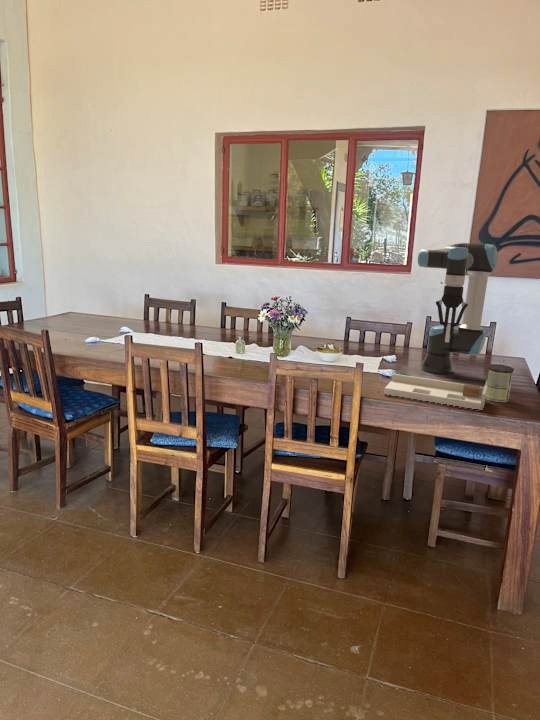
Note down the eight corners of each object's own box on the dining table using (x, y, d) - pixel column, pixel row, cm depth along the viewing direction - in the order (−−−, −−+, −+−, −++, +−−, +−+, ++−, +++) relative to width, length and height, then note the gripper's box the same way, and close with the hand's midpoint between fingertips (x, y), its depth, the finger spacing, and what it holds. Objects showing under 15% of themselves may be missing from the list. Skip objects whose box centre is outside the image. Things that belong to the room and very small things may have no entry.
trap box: (391, 386, 239) (393, 371, 237) (485, 401, 223) (487, 385, 221) (384, 394, 226) (385, 379, 224) (482, 411, 210) (485, 394, 208)
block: (463, 392, 223) (464, 383, 222) (478, 395, 221) (479, 385, 220) (462, 395, 219) (463, 386, 218) (477, 398, 216) (479, 388, 215)
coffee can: (479, 394, 232) (483, 363, 228) (502, 395, 232) (506, 364, 229) (489, 402, 222) (494, 370, 218) (513, 402, 222) (518, 370, 219)
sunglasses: (394, 377, 254) (396, 368, 252) (424, 386, 248) (427, 376, 246) (386, 384, 242) (388, 374, 240) (418, 393, 236) (420, 383, 234)
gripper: (436, 284, 214) (429, 341, 220) (470, 287, 209) (462, 345, 214) (438, 283, 220) (432, 338, 226) (471, 286, 215) (464, 342, 221)
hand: (447, 341), depth 220 cm, fingers closed
